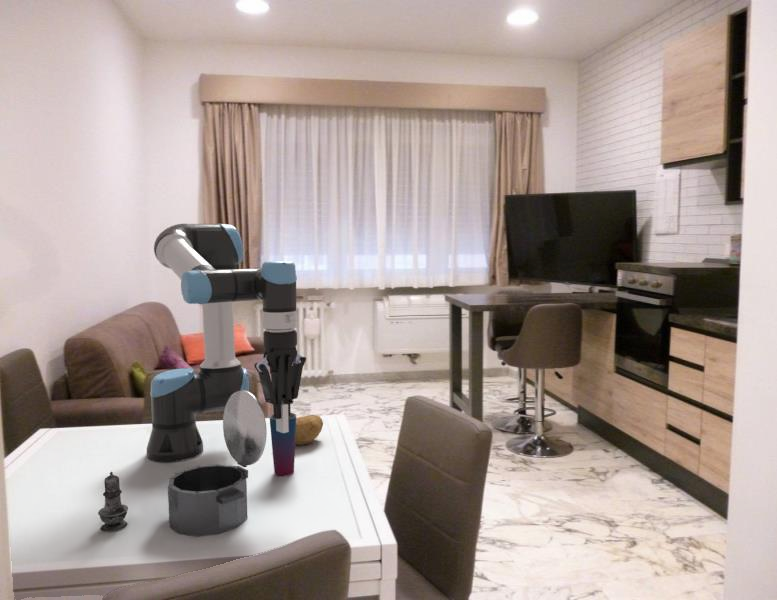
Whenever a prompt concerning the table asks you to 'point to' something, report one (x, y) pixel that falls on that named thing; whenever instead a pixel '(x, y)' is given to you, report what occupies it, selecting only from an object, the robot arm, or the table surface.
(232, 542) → the table surface
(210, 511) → the pot
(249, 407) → the lid
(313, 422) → the potato
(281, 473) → the cup
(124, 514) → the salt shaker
